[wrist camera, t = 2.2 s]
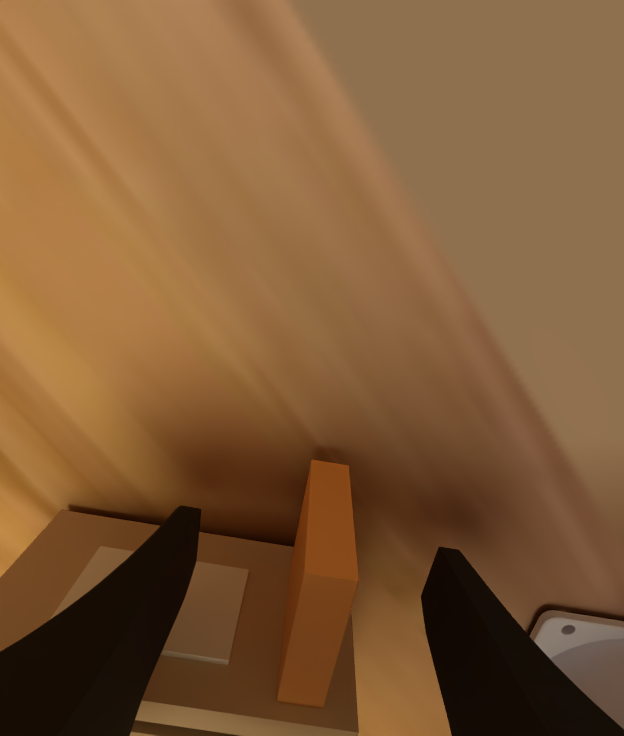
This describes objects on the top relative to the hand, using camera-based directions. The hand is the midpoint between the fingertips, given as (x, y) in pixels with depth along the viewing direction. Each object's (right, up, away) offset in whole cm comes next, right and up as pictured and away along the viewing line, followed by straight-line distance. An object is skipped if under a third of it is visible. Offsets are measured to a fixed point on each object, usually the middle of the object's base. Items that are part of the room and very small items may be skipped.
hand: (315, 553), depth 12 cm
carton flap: (-4, +1, +2) cm, 4 cm away
